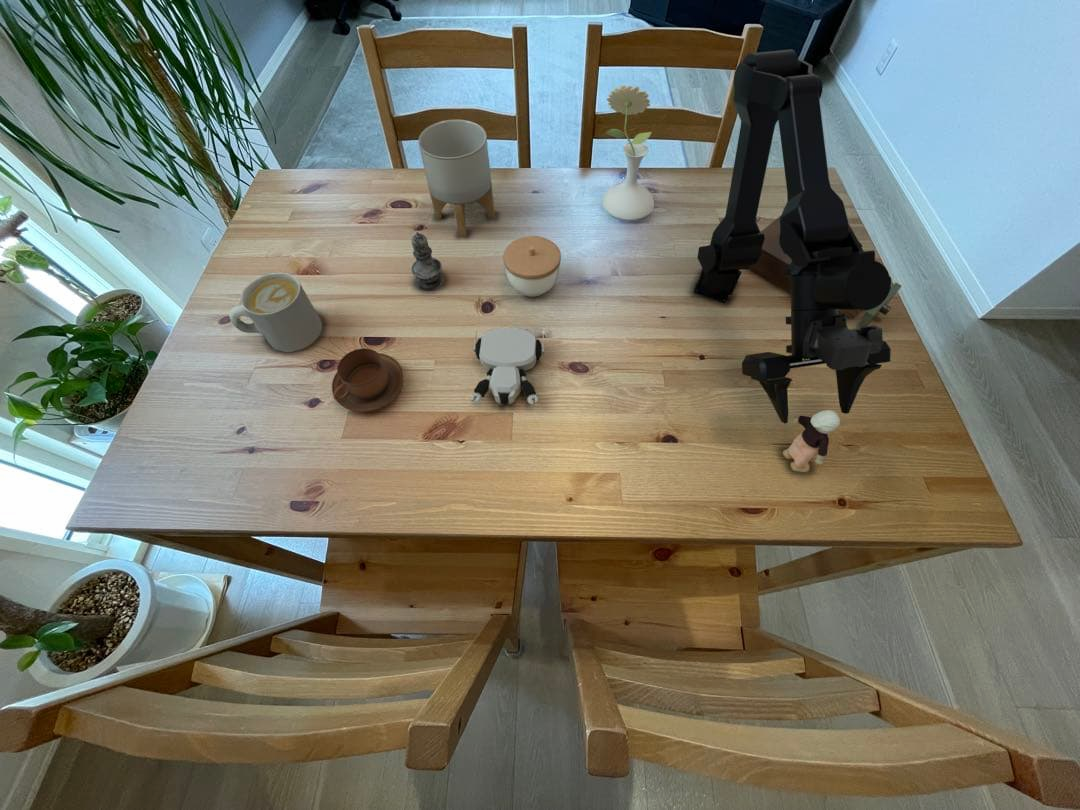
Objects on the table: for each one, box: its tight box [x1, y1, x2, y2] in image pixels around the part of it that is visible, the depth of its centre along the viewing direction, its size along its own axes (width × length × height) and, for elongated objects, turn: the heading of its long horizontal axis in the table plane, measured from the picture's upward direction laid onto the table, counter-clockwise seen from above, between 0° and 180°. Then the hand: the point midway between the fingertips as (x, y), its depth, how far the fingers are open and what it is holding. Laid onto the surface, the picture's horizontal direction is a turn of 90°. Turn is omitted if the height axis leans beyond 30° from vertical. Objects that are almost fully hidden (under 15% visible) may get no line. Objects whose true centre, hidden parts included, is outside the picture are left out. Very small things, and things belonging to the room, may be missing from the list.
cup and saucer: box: [331, 347, 404, 413], centre depth 86 cm, size 12×12×6 cm
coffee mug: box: [229, 271, 323, 353], centre depth 91 cm, size 13×10×10 cm
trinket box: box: [502, 235, 562, 298], centre depth 97 cm, size 11×11×9 cm
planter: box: [417, 119, 496, 237], centre depth 105 cm, size 13×13×18 cm
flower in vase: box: [601, 84, 655, 222], centre depth 102 cm, size 13×11×25 cm
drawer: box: [838, 282, 902, 329], centre depth 95 cm, size 14×10×4 cm
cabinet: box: [749, 216, 792, 295], centre depth 100 cm, size 14×12×6 cm
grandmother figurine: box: [782, 409, 841, 473], centre depth 75 cm, size 8×4×13 cm, turn 25°
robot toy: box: [469, 326, 545, 406], centre depth 88 cm, size 12×4×15 cm
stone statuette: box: [410, 231, 444, 292], centre depth 97 cm, size 6×6×12 cm
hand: (814, 417), depth 73 cm, fingers open, 9 cm apart
